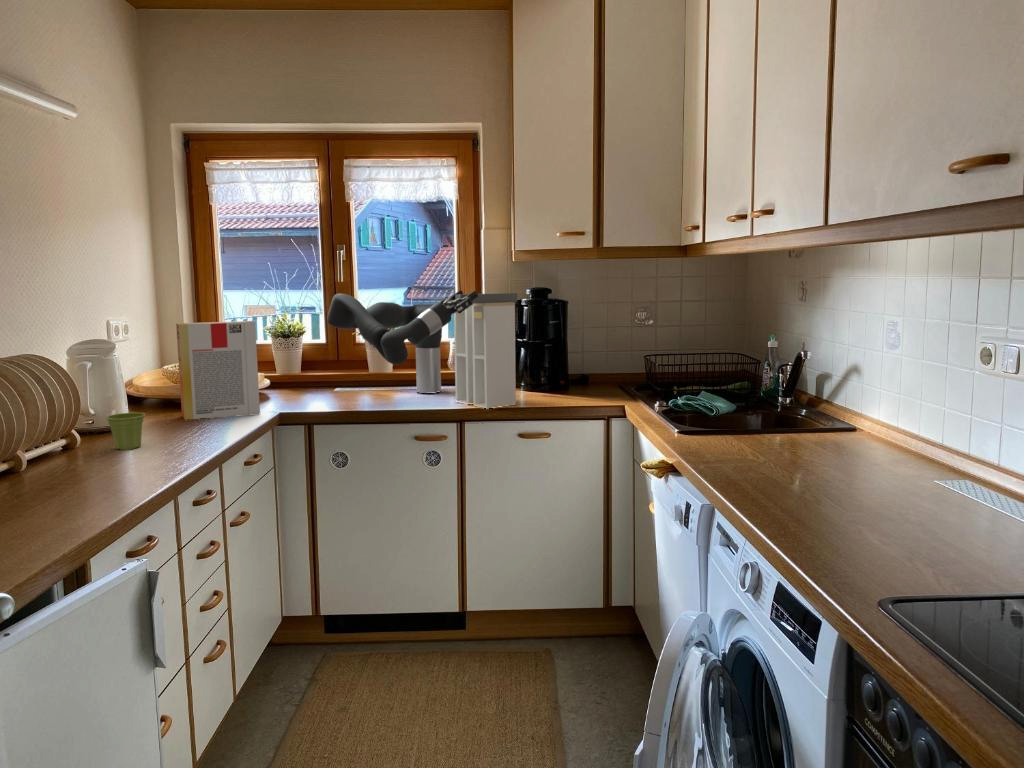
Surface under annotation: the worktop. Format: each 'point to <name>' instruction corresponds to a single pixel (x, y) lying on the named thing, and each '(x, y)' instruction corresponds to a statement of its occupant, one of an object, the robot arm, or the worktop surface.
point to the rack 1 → (463, 355)
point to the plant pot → (126, 429)
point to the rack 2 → (493, 354)
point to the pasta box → (218, 369)
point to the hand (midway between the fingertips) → (469, 292)
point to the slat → (491, 297)
